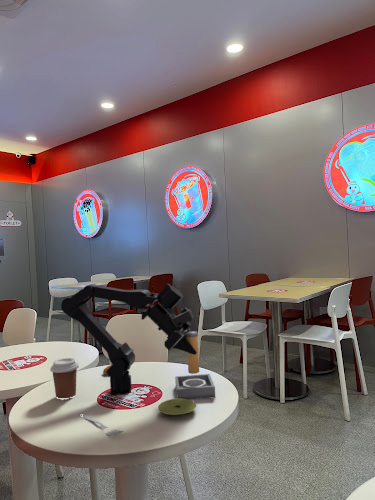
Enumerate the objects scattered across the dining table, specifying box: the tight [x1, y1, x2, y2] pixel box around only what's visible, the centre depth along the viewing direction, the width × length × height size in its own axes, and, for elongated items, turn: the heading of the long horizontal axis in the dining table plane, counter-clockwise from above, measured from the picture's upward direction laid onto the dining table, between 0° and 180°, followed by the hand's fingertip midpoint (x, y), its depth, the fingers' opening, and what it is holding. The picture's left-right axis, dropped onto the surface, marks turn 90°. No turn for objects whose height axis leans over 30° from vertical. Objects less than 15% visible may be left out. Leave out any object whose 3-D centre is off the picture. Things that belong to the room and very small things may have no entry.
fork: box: [81, 414, 124, 436], centre depth 108 cm, size 3×24×2 cm, turn 44°
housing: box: [174, 373, 216, 400], centre depth 127 cm, size 12×12×4 cm
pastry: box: [102, 363, 112, 376], centre depth 151 cm, size 9×7×4 cm
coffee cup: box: [49, 357, 80, 398], centre depth 128 cm, size 9×9×12 cm
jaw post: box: [187, 330, 200, 375], centre depth 126 cm, size 4×4×13 cm
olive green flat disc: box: [157, 398, 197, 416], centre depth 112 cm, size 11×11×2 cm
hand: (196, 352), depth 126 cm, fingers closed on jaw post, 4 cm apart
